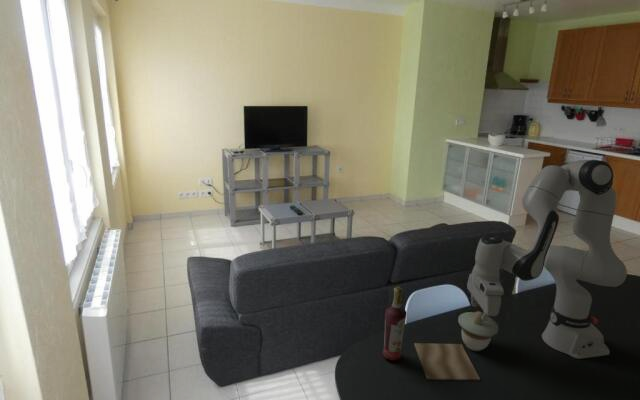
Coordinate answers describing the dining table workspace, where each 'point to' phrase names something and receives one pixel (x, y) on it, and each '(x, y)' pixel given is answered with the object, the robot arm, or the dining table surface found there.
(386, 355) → the liquor
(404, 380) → the dining table surface
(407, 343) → the dining table surface
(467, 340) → the lidded jar
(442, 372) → the plate
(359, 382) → the dining table surface
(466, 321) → the lid
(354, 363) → the dining table surface
